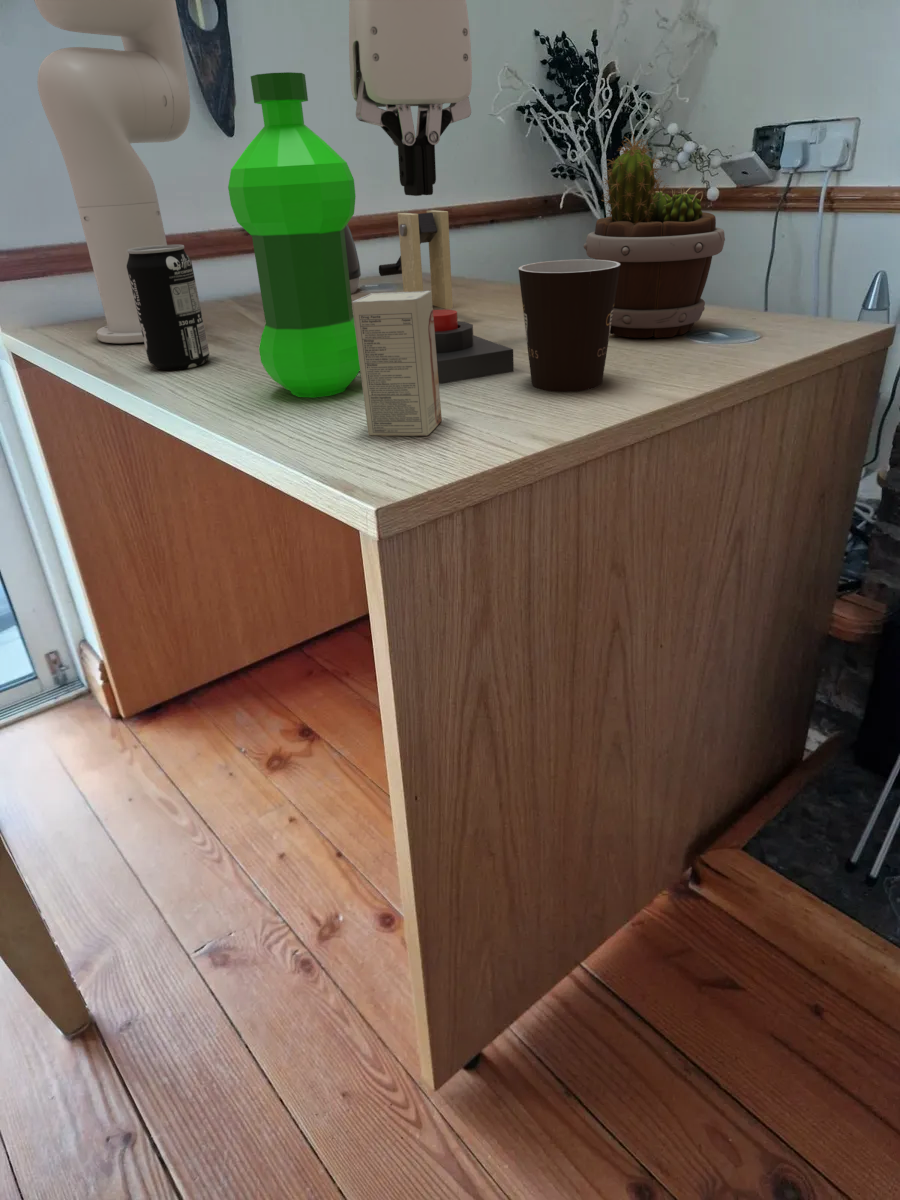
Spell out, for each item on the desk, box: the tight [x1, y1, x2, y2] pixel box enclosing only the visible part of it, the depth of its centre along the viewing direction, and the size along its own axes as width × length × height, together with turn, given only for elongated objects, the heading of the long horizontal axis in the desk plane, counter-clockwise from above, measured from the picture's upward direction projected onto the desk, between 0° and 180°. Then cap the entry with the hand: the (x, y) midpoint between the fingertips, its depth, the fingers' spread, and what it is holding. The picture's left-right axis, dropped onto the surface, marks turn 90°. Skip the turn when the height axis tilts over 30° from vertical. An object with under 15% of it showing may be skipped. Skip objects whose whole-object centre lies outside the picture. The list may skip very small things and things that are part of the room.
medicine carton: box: [352, 290, 443, 437], centre depth 61 cm, size 5×4×10 cm
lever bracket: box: [397, 209, 454, 310], centre depth 102 cm, size 10×8×13 cm
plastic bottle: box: [227, 71, 360, 399], centre depth 69 cm, size 10×10×25 cm
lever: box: [378, 212, 437, 277], centre depth 104 cm, size 13×6×2 cm, turn 25°
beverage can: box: [127, 244, 210, 371], centre depth 86 cm, size 7×7×12 cm
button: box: [433, 309, 459, 331], centre depth 78 cm, size 4×4×2 cm
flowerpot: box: [583, 130, 726, 339], centre depth 87 cm, size 14×15×20 cm
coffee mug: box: [517, 259, 620, 393], centre depth 71 cm, size 12×9×10 cm
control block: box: [435, 320, 515, 385], centre depth 80 cm, size 12×10×4 cm
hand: (418, 194), depth 74 cm, fingers closed
